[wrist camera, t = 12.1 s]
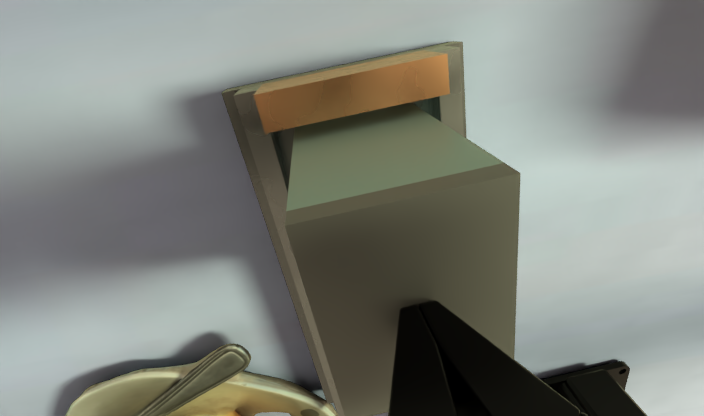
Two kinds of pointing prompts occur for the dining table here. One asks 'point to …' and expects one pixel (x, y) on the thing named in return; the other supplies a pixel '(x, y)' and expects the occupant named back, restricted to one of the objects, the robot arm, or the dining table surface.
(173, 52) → the dining table surface
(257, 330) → the dining table surface
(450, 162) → the module
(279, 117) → the rail
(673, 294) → the dining table surface
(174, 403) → the salad plate
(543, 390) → the robot arm
